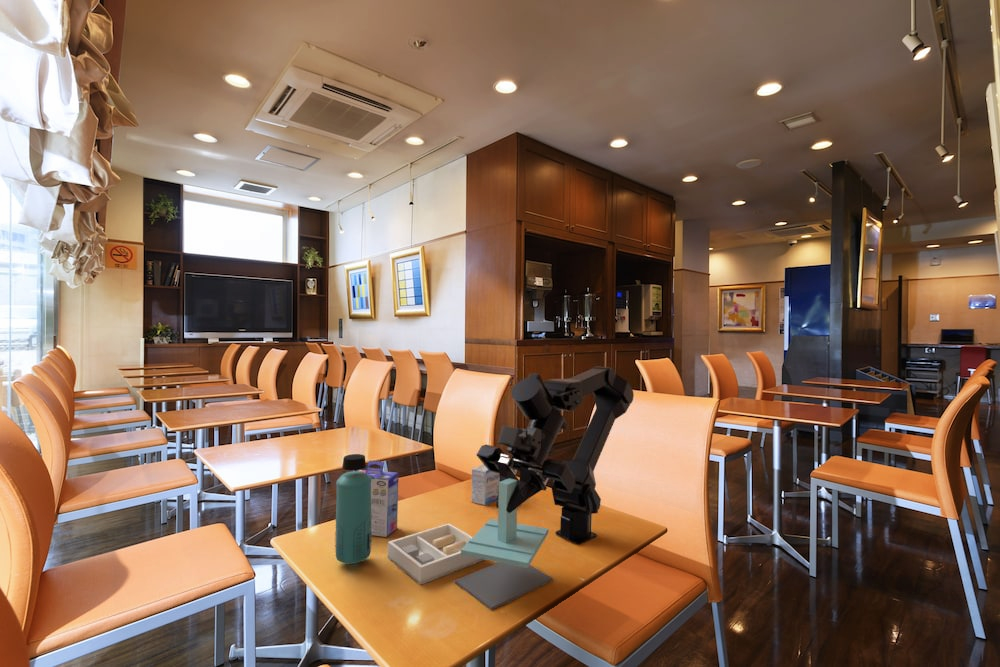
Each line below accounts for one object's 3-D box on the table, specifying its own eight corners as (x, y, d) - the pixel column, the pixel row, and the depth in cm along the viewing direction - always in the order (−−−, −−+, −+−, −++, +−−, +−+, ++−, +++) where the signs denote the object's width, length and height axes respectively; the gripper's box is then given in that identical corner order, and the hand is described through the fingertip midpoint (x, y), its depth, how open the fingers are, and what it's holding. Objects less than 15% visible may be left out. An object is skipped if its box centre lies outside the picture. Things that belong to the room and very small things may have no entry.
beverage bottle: (371, 569, 84) (374, 459, 84) (332, 574, 82) (335, 461, 82) (371, 552, 90) (373, 450, 90) (334, 556, 88) (336, 451, 88)
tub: (448, 537, 98) (449, 523, 98) (484, 559, 88) (484, 544, 88) (387, 557, 88) (387, 541, 88) (420, 584, 79) (420, 567, 79)
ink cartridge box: (398, 527, 102) (400, 461, 102) (387, 538, 97) (389, 468, 96) (357, 522, 104) (358, 458, 104) (344, 533, 99) (345, 464, 98)
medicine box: (485, 506, 115) (485, 471, 115) (470, 502, 118) (471, 468, 118) (502, 497, 122) (503, 464, 122) (488, 493, 124) (489, 461, 124)
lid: (490, 522, 89) (491, 466, 89) (548, 533, 85) (549, 474, 85) (460, 554, 76) (462, 489, 76) (527, 568, 72) (529, 499, 72)
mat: (514, 558, 89) (514, 556, 89) (552, 580, 82) (552, 577, 82) (454, 582, 80) (454, 580, 80) (491, 610, 73) (491, 607, 73)
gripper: (483, 402, 89) (441, 473, 81) (568, 415, 78) (528, 499, 69) (508, 436, 96) (470, 505, 87) (589, 453, 84) (555, 534, 75)
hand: (502, 509), depth 80 cm, fingers closed on lid
